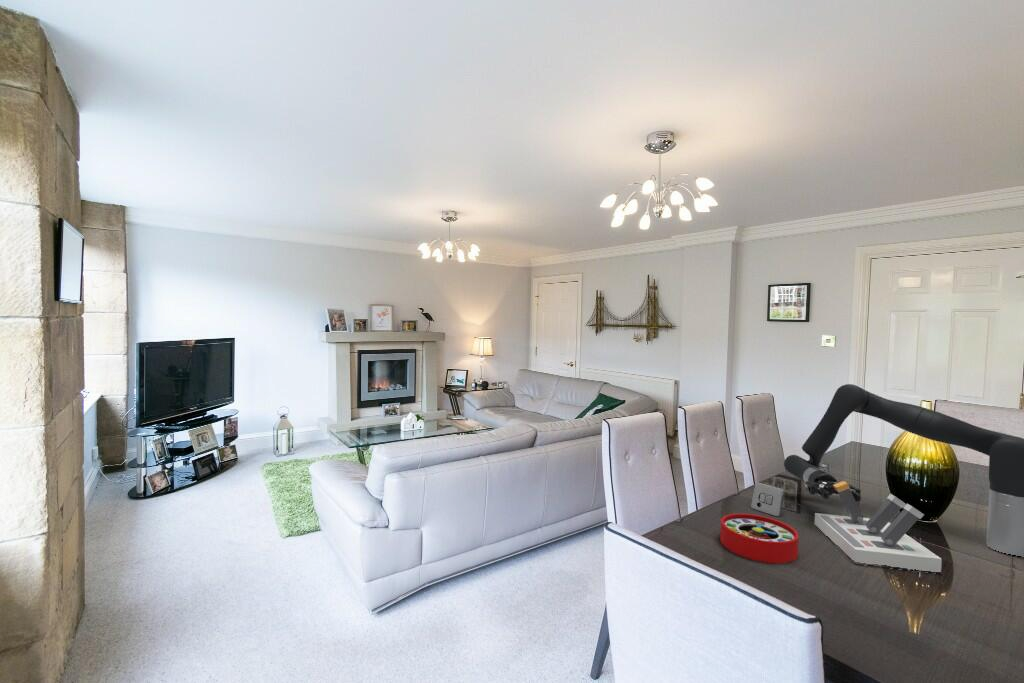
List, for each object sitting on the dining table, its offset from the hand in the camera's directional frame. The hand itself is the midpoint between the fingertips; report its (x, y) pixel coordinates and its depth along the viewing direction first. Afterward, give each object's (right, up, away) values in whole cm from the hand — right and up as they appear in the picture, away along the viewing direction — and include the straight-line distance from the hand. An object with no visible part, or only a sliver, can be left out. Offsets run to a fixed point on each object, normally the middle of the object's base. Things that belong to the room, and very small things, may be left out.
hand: (843, 497), depth 145 cm
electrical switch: (-13, -11, +19) cm, 26 cm away
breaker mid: (+4, -7, -7) cm, 10 cm away
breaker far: (+2, -7, -15) cm, 16 cm away
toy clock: (-31, -12, -8) cm, 34 cm away
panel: (+3, -12, -7) cm, 14 cm away
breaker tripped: (+5, -7, +1) cm, 9 cm away
